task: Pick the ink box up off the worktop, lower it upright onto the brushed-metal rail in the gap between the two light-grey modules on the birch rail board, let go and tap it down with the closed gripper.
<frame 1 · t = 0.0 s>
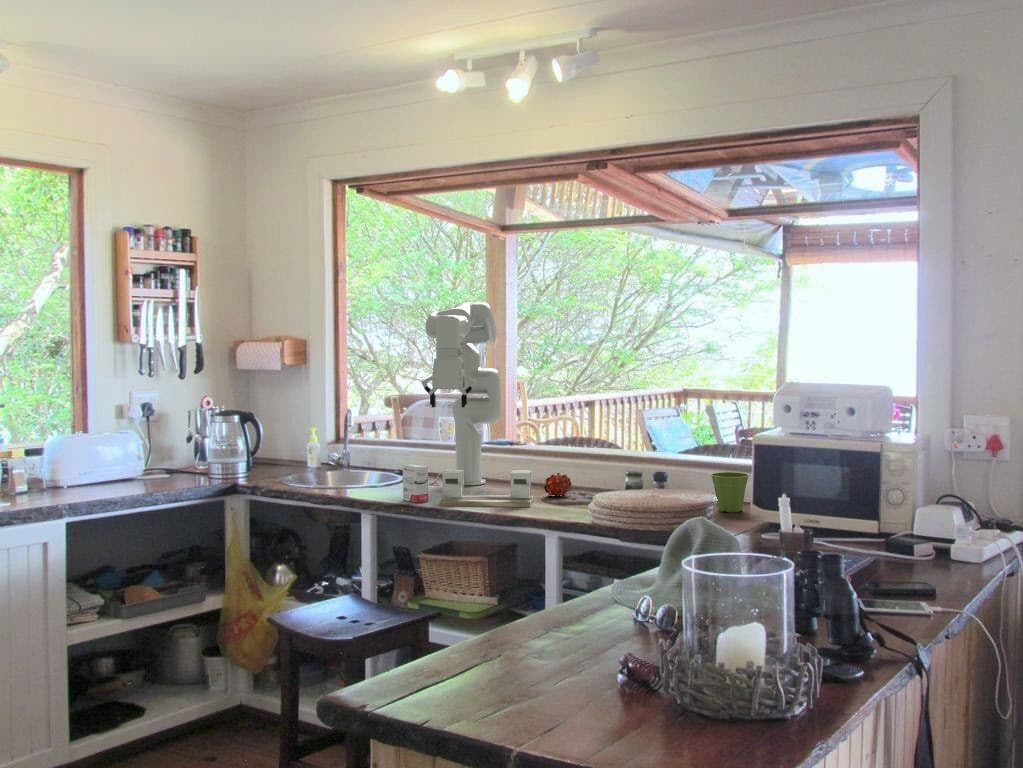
hand: (448, 407, 309), 31 cm above the counter, tool pointing down, fingers open, 9 cm apart
dragon fruit: (557, 497, 324), on the counter
plant pot: (729, 511, 295), on the counter
ink box: (415, 501, 317), on the counter
rail board: (487, 503, 312), on the counter
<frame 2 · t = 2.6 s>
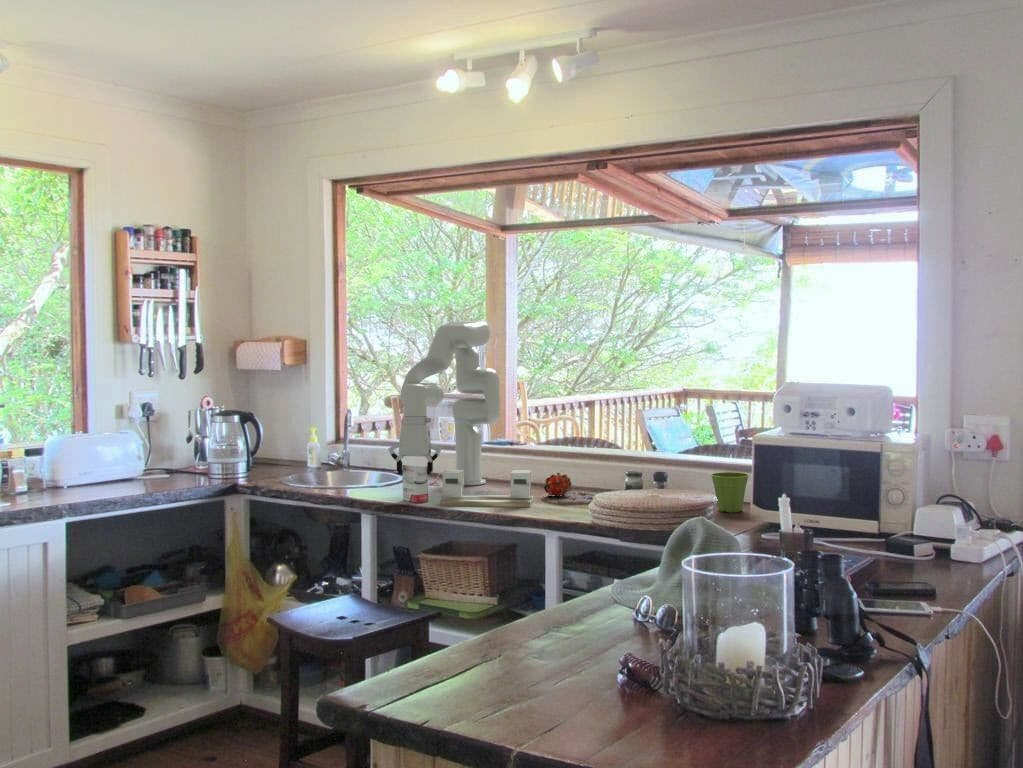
hand: (414, 473, 316), 9 cm above the counter, tool pointing down, fingers open, 9 cm apart
nothing on the counter moved.
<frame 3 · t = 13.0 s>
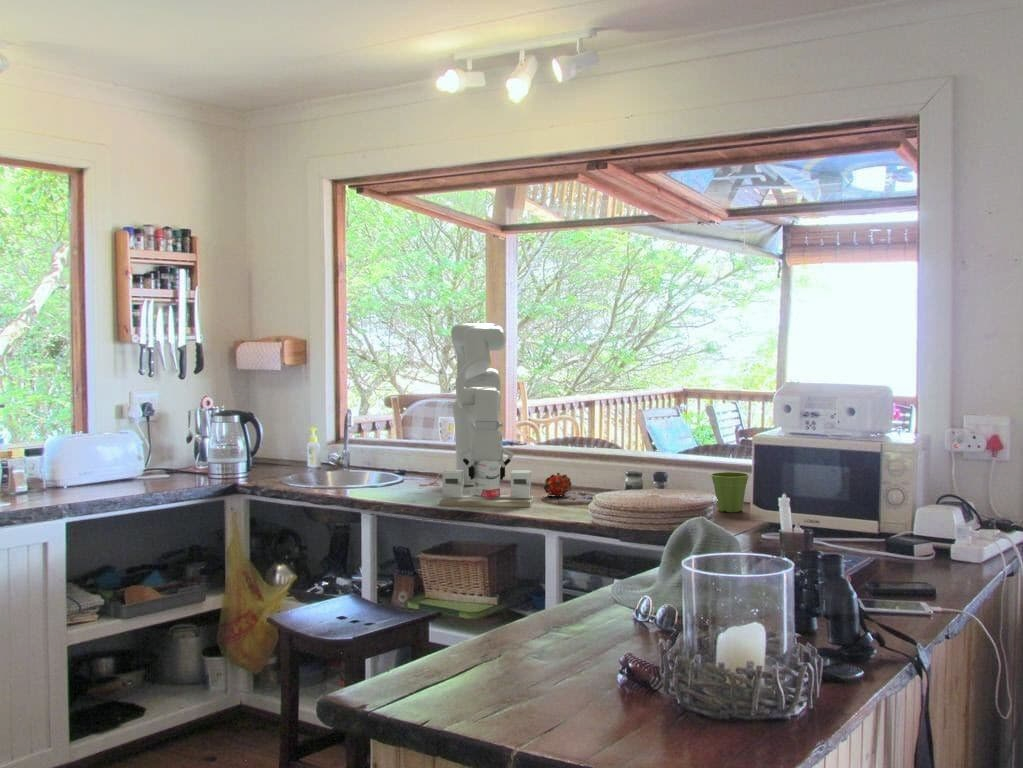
hand: (486, 479, 311), 8 cm above the counter, tool pointing down, fingers open, 9 cm apart
ink box: (486, 496, 312), point 2 cm above the counter, touching gripper, rail board
everything else where it was.
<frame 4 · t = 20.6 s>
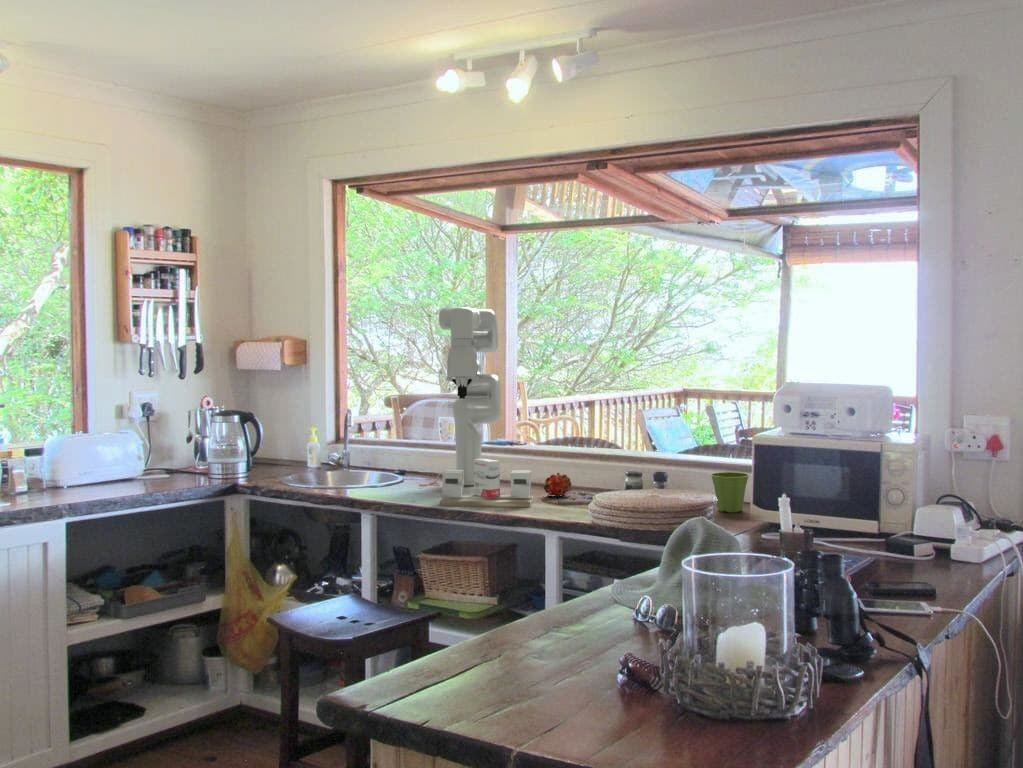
hand: (462, 398, 326), 33 cm above the counter, tool pointing down, fingers closed
ink box: (486, 496, 312), point 2 cm above the counter, touching rail board
everything else where it was.
at the end: ink box 0.3 cm off-centre on the rail board, point 2.1 cm above the rail board's base; ink box tilted 0°; the gripper is holding nothing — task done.
